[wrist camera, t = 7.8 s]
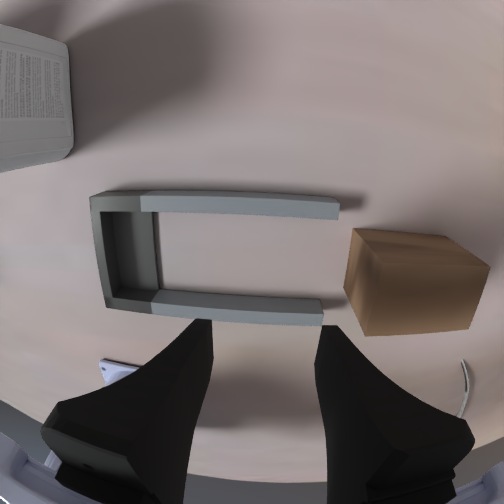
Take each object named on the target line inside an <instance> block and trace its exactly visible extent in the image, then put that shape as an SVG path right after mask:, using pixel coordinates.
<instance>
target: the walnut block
mask: <svg viewBox="0 0 504 504" xmlns="http://www.w3.org/2000/svg"><path fill="white" fill-rule="evenodd" d="M489 270H490V266H489V265H487V264H486V263H484V262H483V261H482V260H480V259H479V258H477V257H476V256H475V255H473V254H472V253H470V252H469V251H467V250H466V249H464V248H463V247H461V246H460V245H458V244H457V243H455V242H454V241H452V240H451V239H449V238H448V237H446V236H438V235H428V234H417V233H405V232H393V231H381V230H368V229H354V228H353V230H352V238H351V245H350V251H349V258H348V264H347V270H346V276H345V282H344V287H343V288H344V290H345V292H346V294H347V297H348V299H349V301H350V303H351V305H352V308H353V310H354V312H355V314H356V317H357V319H358V321H359V323H360V326H361V328H362V330H363V333H364V335H365V336H390V335H408V334H423V333H436V332H447V331H457V330H466V329H469V326H470V324H471V322H472V319H473V317H474V314H475V312H476V309H477V306H478V304H479V301H480V298H481V295H482V292H483V289H484V286H485V283H486V280H487V277H488V274H489Z"/></svg>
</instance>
